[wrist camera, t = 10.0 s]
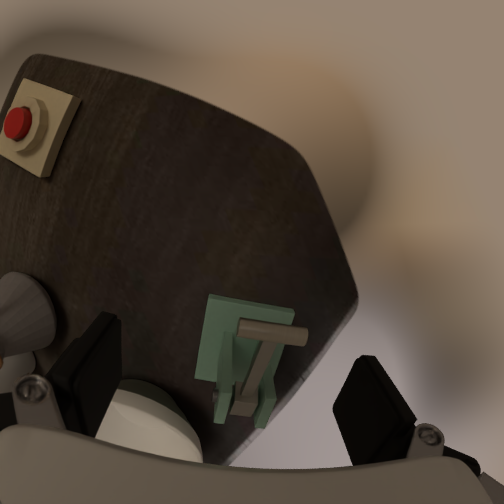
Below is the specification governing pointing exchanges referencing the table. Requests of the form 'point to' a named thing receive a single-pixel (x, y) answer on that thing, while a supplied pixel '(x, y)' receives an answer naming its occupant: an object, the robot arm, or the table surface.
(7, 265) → the table surface
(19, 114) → the button
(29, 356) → the milk bottle
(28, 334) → the coffee pot
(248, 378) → the lever handle
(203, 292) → the table surface
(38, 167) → the block
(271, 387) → the green lever stand
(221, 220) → the table surface
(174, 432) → the bowl
